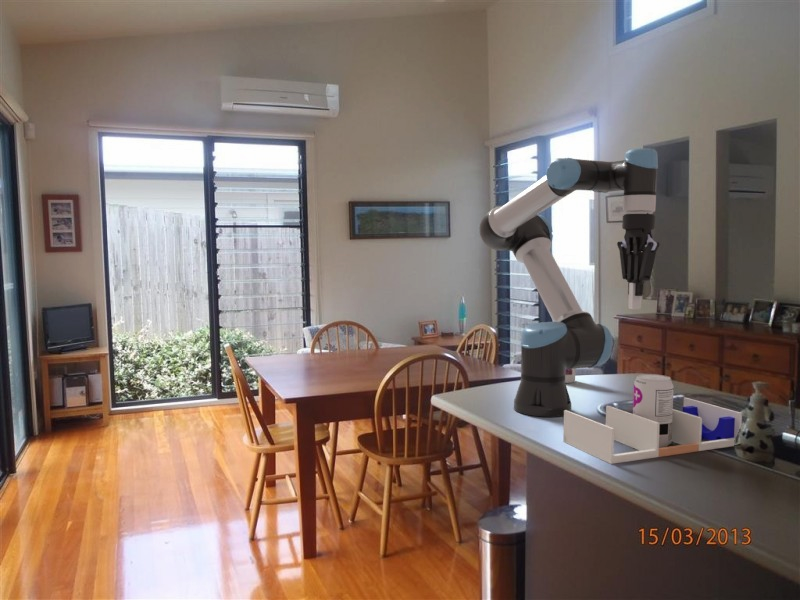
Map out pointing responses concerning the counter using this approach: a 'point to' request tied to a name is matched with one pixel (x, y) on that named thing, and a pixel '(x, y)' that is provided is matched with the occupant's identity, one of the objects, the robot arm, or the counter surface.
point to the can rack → (646, 432)
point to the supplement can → (655, 403)
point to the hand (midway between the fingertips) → (634, 308)
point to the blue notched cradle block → (721, 431)
